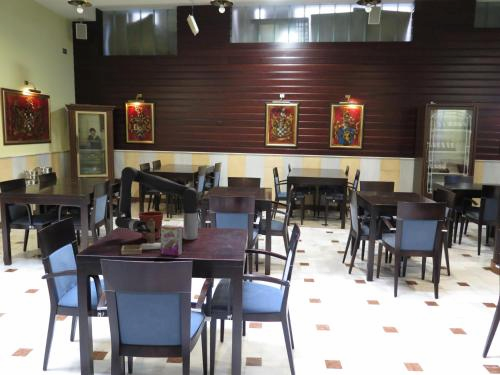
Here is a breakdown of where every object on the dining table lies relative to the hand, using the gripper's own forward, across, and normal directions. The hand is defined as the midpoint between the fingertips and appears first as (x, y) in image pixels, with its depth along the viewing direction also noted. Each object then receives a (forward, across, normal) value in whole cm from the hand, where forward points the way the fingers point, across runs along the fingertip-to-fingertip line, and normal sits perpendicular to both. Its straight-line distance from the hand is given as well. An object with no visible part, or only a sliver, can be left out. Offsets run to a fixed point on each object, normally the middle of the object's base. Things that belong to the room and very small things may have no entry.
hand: (153, 230), depth 253 cm
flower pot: (-21, +13, +11) cm, 27 cm away
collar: (-1, -15, +10) cm, 18 cm away
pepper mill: (-3, 0, +8) cm, 8 cm away
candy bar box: (+19, -2, +10) cm, 22 cm away
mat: (-2, 0, +10) cm, 11 cm away
